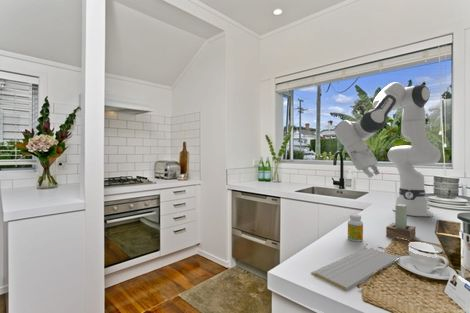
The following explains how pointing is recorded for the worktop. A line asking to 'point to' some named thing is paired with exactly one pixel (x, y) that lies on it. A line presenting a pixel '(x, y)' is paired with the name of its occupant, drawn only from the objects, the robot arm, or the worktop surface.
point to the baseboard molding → (355, 267)
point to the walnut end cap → (400, 232)
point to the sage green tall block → (401, 216)
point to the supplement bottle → (355, 228)
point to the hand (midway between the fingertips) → (374, 175)
